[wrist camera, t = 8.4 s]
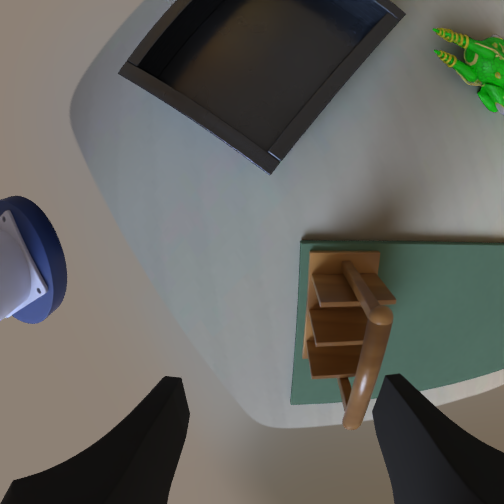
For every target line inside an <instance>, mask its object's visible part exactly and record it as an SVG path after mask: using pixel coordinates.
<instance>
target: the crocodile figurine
mask: <svg viewBox="0 0 504 504" xmlns="http://www.w3.org/2000/svg"><path fill="white" fill-rule="evenodd" d="M433 31H435V32H436V34H437V35H439V36H440V37H442V38H443V39H445V40H447V41H448V42H450V43H451V42H453V43H455V44H457V45H458V46H460V47H462V48H463V49H465V51H464V60H465V63H464V62H462V61H460V60H458V59H457V58H456V56H455V55H451V54H450V53H447V52H445V51H442V50H439V51H438V50H434V52H435V53H437V56H438V57H440V60H442V61H443V62H444V63H445V64H447V66H448V67H453V68H454V69H455V70H456V72H457V74H458V75H460V76H461V78H462V79H463V80H464V81H465V82H466V81H469V82H470V83H471V82H475V83H471V84H469V83H467V82H466V83H467V84H469V85H474V86H478V85H479V86H482V87H481V90H480V92H478V93H477V94H478V95H479V97H480V99H481V101H482V102H483V104H484V105H485V106H486V107H487V108H488V109H489V110H490V111H492V112H497V111H499V112H500V113H501V114H502V115H504V39H502V38H501V37H500V36H498V35H495V34H494V35H492V36H491V37H490V38H487V39H485V40H484V41H477V40H474V39H472V38H470V37H468V36H467V35H466V34H465V35H462V34H461V33H459V34H458V33H457V32H455V33H454V32H453V31H452V30H451V29H444V28H437V29H434V28H433ZM462 76H463V77H462ZM478 82H480V83H479V84H478ZM481 82H483V83H482V85H480V84H481ZM475 84H476V85H475Z"/></svg>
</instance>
